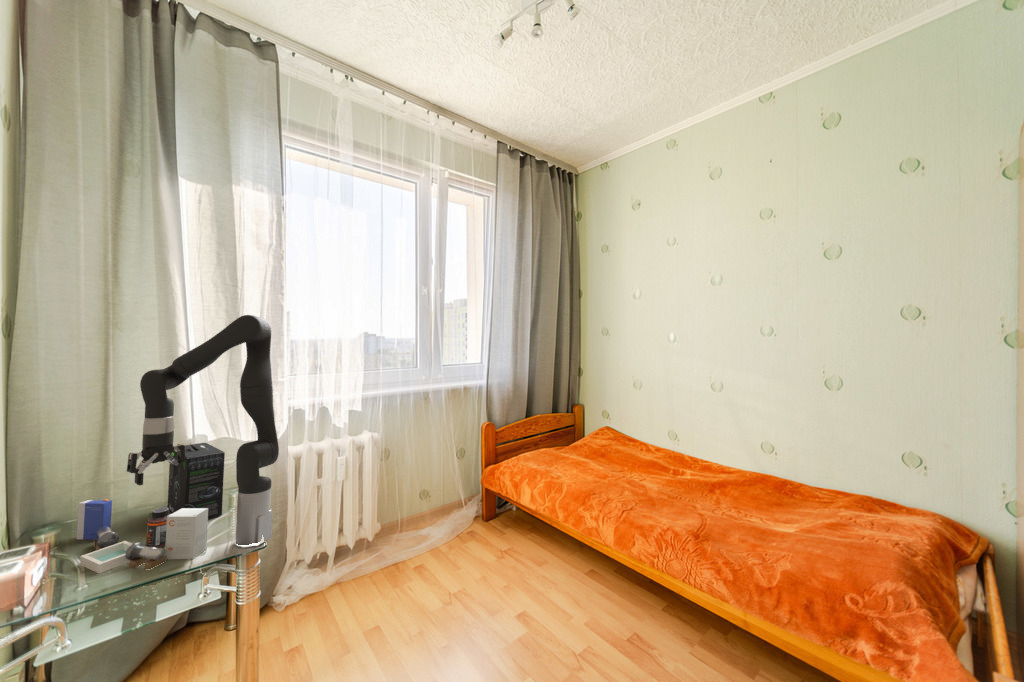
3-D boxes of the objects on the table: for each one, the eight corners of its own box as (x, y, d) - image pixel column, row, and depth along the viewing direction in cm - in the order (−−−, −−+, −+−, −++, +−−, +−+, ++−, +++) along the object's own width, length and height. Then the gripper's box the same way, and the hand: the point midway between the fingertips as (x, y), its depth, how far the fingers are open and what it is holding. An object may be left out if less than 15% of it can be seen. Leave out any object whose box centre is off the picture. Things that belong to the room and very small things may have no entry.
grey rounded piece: (167, 562, 116) (168, 542, 117) (151, 570, 112) (152, 550, 112) (141, 558, 117) (142, 539, 118) (124, 567, 113) (125, 547, 113)
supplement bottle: (142, 546, 124) (144, 510, 124) (165, 538, 130) (167, 504, 130) (150, 551, 121) (153, 515, 122) (174, 543, 127) (176, 508, 127)
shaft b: (92, 545, 124) (93, 526, 124) (113, 539, 127) (114, 521, 127) (97, 555, 118) (98, 535, 118) (118, 549, 122) (119, 530, 122)
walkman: (110, 535, 130) (112, 499, 130) (102, 539, 127) (104, 502, 127) (85, 535, 130) (87, 498, 130) (76, 539, 127) (78, 502, 127)
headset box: (165, 508, 152) (169, 441, 152) (203, 499, 161) (207, 436, 162) (182, 526, 138) (186, 453, 138) (223, 516, 148) (226, 447, 148)
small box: (206, 549, 125) (209, 507, 125) (192, 559, 118) (195, 516, 118) (179, 549, 124) (181, 507, 124) (163, 560, 117) (166, 516, 118)
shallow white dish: (143, 556, 119) (143, 548, 119) (98, 573, 110) (99, 564, 110) (124, 548, 123) (125, 540, 123) (80, 564, 113) (80, 555, 113)
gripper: (178, 425, 136) (176, 473, 135) (124, 433, 123) (121, 485, 122) (190, 428, 132) (188, 476, 132) (136, 436, 120) (134, 489, 119)
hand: (156, 480), depth 127 cm, fingers open, 8 cm apart
